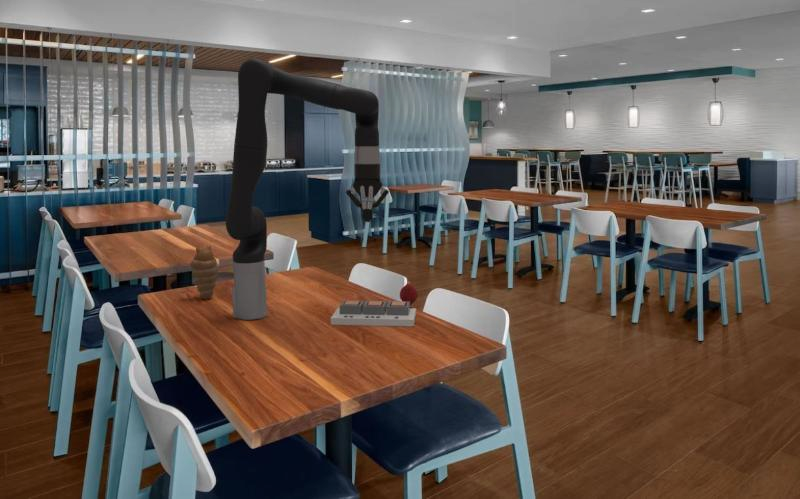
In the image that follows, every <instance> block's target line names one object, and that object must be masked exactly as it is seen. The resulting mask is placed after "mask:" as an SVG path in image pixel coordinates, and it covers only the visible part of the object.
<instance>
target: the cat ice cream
mask: <svg viewBox="0 0 800 499" xmlns="http://www.w3.org/2000/svg"><path fill="white" fill-rule="evenodd" d="M195 251H196V253H195V255H194V257H193V259H192V260H191V262H190V268H191V270H192V271H191V272H192V274H191V275H192V276H193V278H194V282H193V283H194V284H195V285H196V289H197V291H198V293H199V296H200V297H201V299H204V300H209V299H212V297H213V295H214V289H215V287H216V285H217V284H216V283H217V280H218V272H219V268H218V266H217V264H218V263H217V259H216V257H215V256H214V252H212V246H211V245H209V246H207V247H206V248H199V247H195Z"/></svg>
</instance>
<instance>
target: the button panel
mask: <svg viewBox="0 0 800 499" xmlns="http://www.w3.org/2000/svg"><path fill="white" fill-rule="evenodd" d="M346 301H355V300H347V299H344V300H342V302H341V303H339V304H340V305H339V306H338V307H337V309H336V310H335V311H334V313H333V314H332V316H331V317H330V325H331V326H340V325H341V326H367V327H368V326H374V327H412V326H415V322H416V318H415V317H417V308H414V307H413V308H411V305H410V302H408V301H401V300H400V301H398V300H397V301H394V300H388V301H387V300H382V301H383V305H382V306H368V303H369V301H370V300H359V301H360V304H359V306H358V305H344V304H345V302H346ZM392 302H406V306H391V304H392Z"/></svg>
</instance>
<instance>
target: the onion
mask: <svg viewBox="0 0 800 499" xmlns="http://www.w3.org/2000/svg"><path fill="white" fill-rule="evenodd" d="M418 296H419V294H418V290H417V288H416V287H415V286H414V285H413V284H412V282H411V281H407V282H406V284H405V285H404V286H402V288H401V289H400V291H399V299H400V301H408V302H410V306H412V305H414V303H415V302H416V301H417V299H418Z"/></svg>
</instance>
